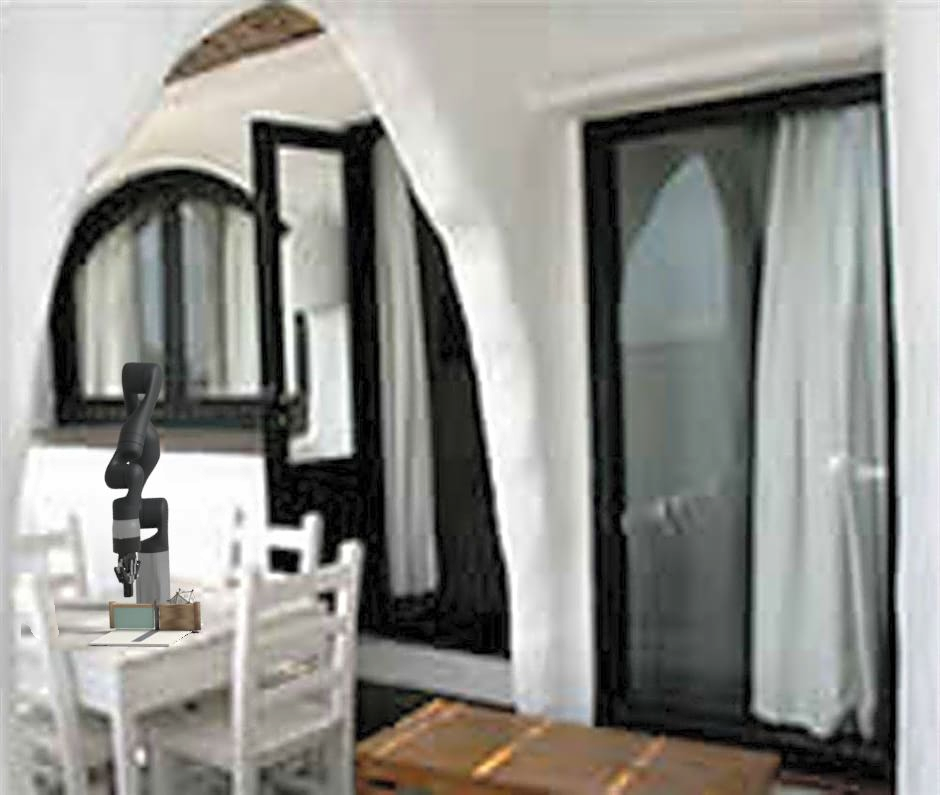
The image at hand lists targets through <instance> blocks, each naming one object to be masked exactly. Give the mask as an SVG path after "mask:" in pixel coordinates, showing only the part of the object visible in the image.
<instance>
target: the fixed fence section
mask: <svg viewBox="0 0 940 795" xmlns="http://www.w3.org/2000/svg"><path fill="white" fill-rule="evenodd" d="M200 605H201V602H200V601H196V602H193V604H159V600H155V601H154V621H155V630H159V629H160V630H198V631H201V630H202V626H201V623H202V622H201V621H202V619H201V615H202V614H201V606H200ZM159 623H160V627H159ZM198 631H197V632H198Z"/></svg>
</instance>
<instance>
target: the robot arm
mask: <svg viewBox="0 0 940 795" xmlns="http://www.w3.org/2000/svg"><path fill="white" fill-rule="evenodd" d="M163 375H164V373H163V369H162V367H161V365H160V364H159V363H156V362H139V361H138V362H135V361H133V362H126V363H124V364H123V366H122V369H121V388H122V395H123V401H124V402H123V403H124V410H125V417H126V418H125V419H126V420H125V421H124V423H123V425H122V427H121V429H120V432H119V436H118V442H117V446H116V449H115V451H114V453H113V455H112V457H111V459H110V460H109V462H108V464H107V466H106V468H105V472H104V477H103V478H104V482H105V485H106V487H107V488H109V489H111V490H127V493H126V495H125V496H122V497H118V498H115V499H113V501H112V505H111V506H112V510H111V511H112V526H111V531H112V552H113V553H114V554H117V555H118V556H117V566H114V568H113V572H114V574H115V576H116V578H117V581H118V583H119V584H122V585H123V586H122V587H123V597H124V598H125V599H126V598H132V597H133V596H134V583H135V597H136V603H135V604H154V601H155V600H159V604H170V602H167V601H166V600H171V599H172V598H171V576H170V574H171V573H170V572H171V571H170V552H169V551H170V546H169V503H168V500H167V499H166V498H165V497H142V494H143V490H144V487H145V486H146V483H147V482H148V479H149V477H150V476H151V474H152V473H153V471H154V470H155V469H156V467H157V465H158V463H159V462H160V461H159V460H160V458H161V443H160V435H159V432H158V430H157V428H156V427H155V426H154V424H153V423H152V421H151V418H152V415H153V413H154V411H155V410H154V409H155V407H156V404H157V401H158V398H159V396H160V394H161V393H160V392H161V390H162V386H163V382H164V381H163V379H164V376H163ZM139 395H144V397H143V399H142V400H141V403H140V400H139ZM145 529H146V530H147V529H149V530H150V529H157V531H156V533H154V534H153V535H151V536H150V537H148V538H144V539H143V540H142V539H141V530H145Z"/></svg>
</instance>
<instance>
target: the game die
mask: <svg viewBox="0 0 940 795" xmlns="http://www.w3.org/2000/svg"><path fill="white" fill-rule="evenodd" d="M193 592H194V589H193V588H192V589H191V590H182V589H181V588H178V591H175V594H174V596H173V597H172V598H171V600H166V601H167V602H170V604H193V602H197V600H196V597H195V595H194V593H193ZM200 607H202V605H201V604H200Z"/></svg>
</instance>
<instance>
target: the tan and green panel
mask: <svg viewBox="0 0 940 795" xmlns="http://www.w3.org/2000/svg"><path fill="white" fill-rule="evenodd" d="M108 611H109V612H108V615H109V619H108V620H109V629H110V630H111V629H112V630H113V629H114V630H115V629H118V628H130V629H153V628H155V613H154V604H136V603H117V602H116V601H108Z"/></svg>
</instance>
